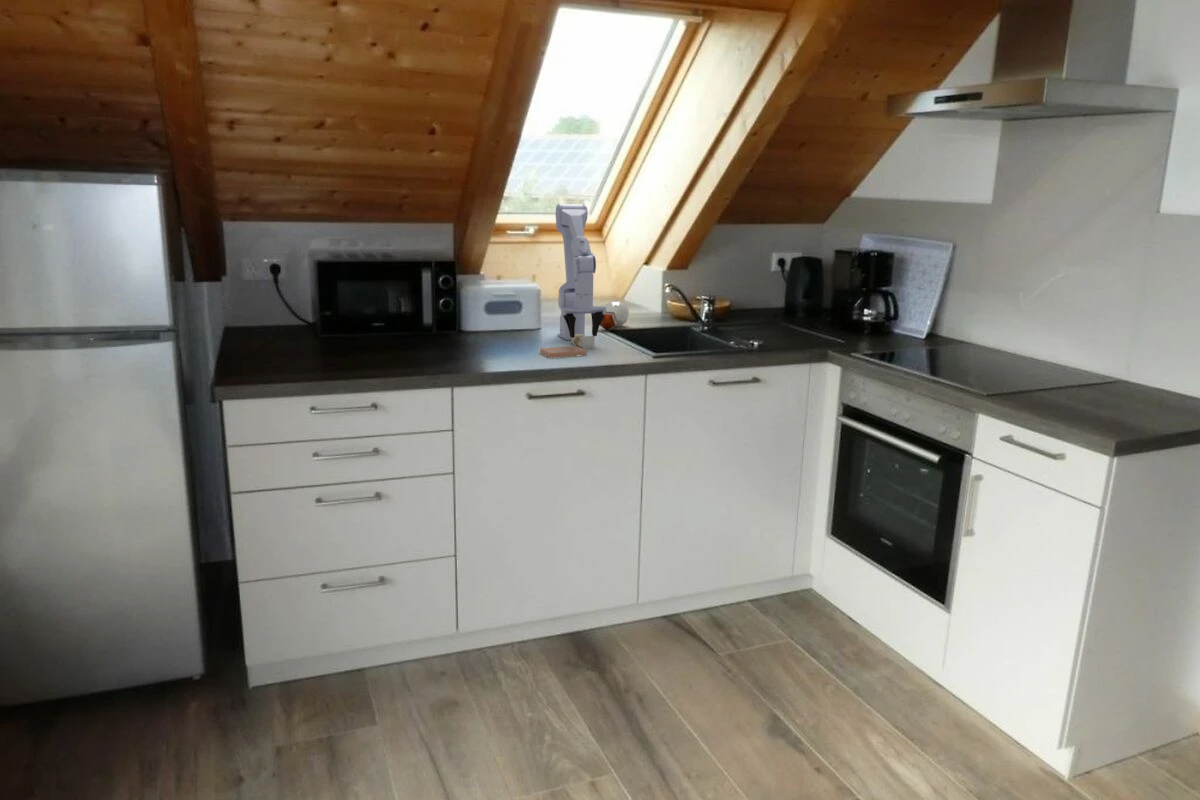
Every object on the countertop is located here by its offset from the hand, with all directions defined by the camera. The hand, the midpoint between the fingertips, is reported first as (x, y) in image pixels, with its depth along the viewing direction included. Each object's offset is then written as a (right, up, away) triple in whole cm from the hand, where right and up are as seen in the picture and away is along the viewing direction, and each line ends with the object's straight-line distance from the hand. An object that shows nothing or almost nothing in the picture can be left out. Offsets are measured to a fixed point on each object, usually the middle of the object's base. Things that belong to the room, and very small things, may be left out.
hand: (583, 336), depth 279 cm
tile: (-8, -5, -8) cm, 12 cm away
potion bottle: (+10, +5, +35) cm, 37 cm away
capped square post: (-1, -3, +2) cm, 4 cm away
